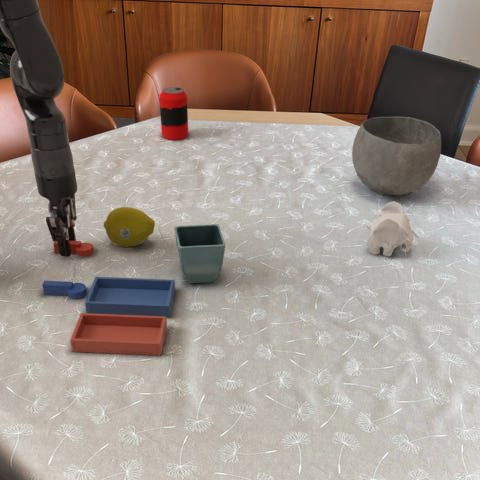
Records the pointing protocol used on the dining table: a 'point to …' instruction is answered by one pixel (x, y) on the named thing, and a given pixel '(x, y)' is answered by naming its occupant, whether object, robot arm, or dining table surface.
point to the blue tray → (131, 296)
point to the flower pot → (200, 252)
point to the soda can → (174, 113)
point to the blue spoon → (65, 289)
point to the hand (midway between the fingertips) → (68, 249)
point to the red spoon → (77, 248)
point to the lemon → (128, 226)
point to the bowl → (396, 154)
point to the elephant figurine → (390, 230)
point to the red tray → (119, 334)
